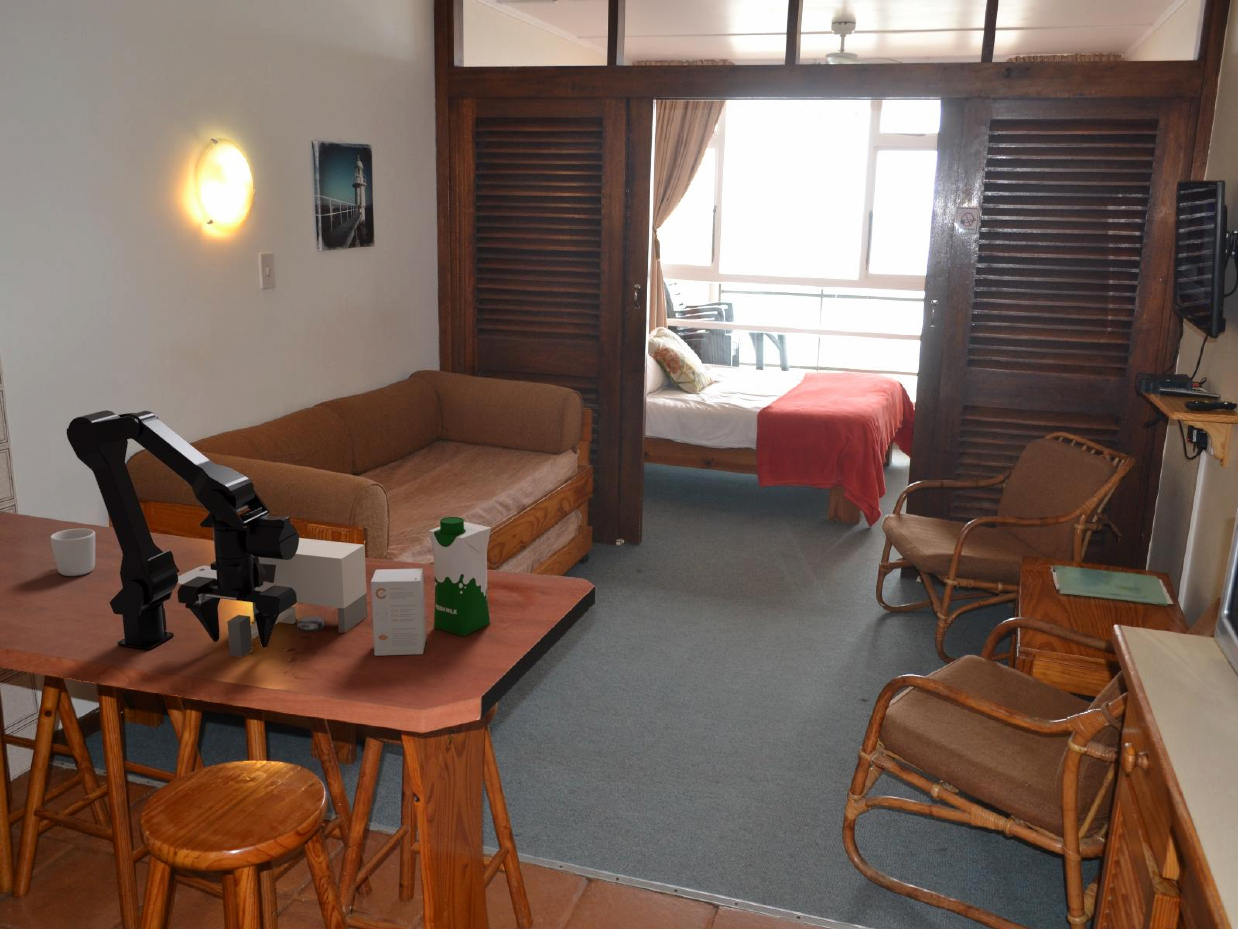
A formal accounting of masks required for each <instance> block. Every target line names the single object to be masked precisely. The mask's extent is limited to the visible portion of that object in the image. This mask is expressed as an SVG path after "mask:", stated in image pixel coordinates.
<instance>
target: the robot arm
mask: <svg viewBox="0 0 1238 929" xmlns="http://www.w3.org/2000/svg"><path fill="white" fill-rule="evenodd" d="M66 437H67V440H68V443H69V445H70V446H71V448H72V450H73V452H74V454H75V456H76V457H77V459H78V460H80V461H81V462H82V463H83V464H84V465H85V466H86V467H88V468H89V469H90V470H91V471H92V473H93V475H94V478H95V480H96V484H97V487H98V489H99V491H100V495H101V497H102V500H103V502H104V506H105V508H106V511H107V513H108V517H109V519H110V522H111V525H112V528H113V530H114V534H115V536H116V539H117V541H118V545H119V547H120V550H121V553H122V558H121V565H120V570H119V576H120V577H119V578H120V581H121V587H122V588H121V589H120V590H119V591H118V592H117V594H116V595H115V596H114V597H113V598H112V599H111V600H110V601H109V604H110V608H111V610H112V612H113V614H115V615H121V616H122V626H123V635H124V638H122V639H120V640H118V641H117V642H116V643H117V646H119V647H127V648H135V649H141V650H151V649H154V648H156V647H157V646H158V645H161V644H162V643H163V642H165V641H167V640H169V639H170V638H173V637H174V636H175V633H174V632H172V631H167V620H166V619H167V618H166V617H167V616H166V610H165V607H164V603H165V602H166V601H169V600H170V599H172V598H171V597H172V594H173V591H174V590H175V589H176V587H177V585H178V584H179V583H178V576H179V575H178V573H179V572H180V568H178V566H177V564H176V562H175V558H174V554H173V552H172V551H171V550H172V549H168V550H166V551H164V550H162V549H161V548H160V547H158V545H156V544H155V542H154V540H153V538H152V534H151V531H150V528H149V525H148V522H147V520H146V518H145V517H146V516H145V515H144V512H143V509H142V506H141V503H140V500H139V498H138V494H137V492H136V490H135V489H136V488H135V487H134V483H133V482H132V481H133V480H132V477H131V475H130V472H129V470H128V467H127V465H126V464H127V462H126V456H127V451H128V446H129V441H128V440H132V441H135V442H136V444H139V446H140V447H142V448H143V449H144V450H146V451H147V452H148V453H150V454H151V455H152V456H153V457H154V458H156V459H157V460H158V461H160V462H161V463H162V464H163V465H164V466H166V467H167V468H168V469H170V470H171V471H172V472H173V473H175V474H176V475H177V476H178V477H180V478H181V479H182V480H183V481H184V482H186V483H187V484H188V485H189V486H190V487H191V488H192V492H193V494H194V497H195V499H196V500H197V502H198V503H200V505H201V506H203V508H204V509H205V510H206V511H207V512H208V515H207V516H206V517H205V518H203V520H202V521H201V522H200V523H199V526H200V527H201V528H209V529H210V528H211V529H212V535H213V536H212V537H213V545H214V547H213V550H214V559H215V561H213V562H211V563H210V564H209V565H210V567H211V570H216V575H217V579H216V578H208V577H200V576H198V577H196V578H194V579H192V580H190V581H188V582H186V583H184V584H180V585H179V587H178V589H177V602H178V603H179V604H185V605H184V607H185V609H189V610H190V612H191V613H192V614H193V616H195V617H196V619H197V620H198V621H199V622H200V624H201V625H202V627H203V628H204V630H205V631H206V633H207V634H208V636H209V637H210V638H211V640H212V642H215V643H216V642H218V641H219V640H220V619H219V605H220V601H221V599H222V600H223V599H224V600H229V601H238V602H244V603H245V602H247V603H252V602H253V603H255V608H256V609H257V610H258V611H259V612H258V613H256V614H255V619H256V621H255V622H256V624H257V628H258V633H259V635H258V637H259V642H260V644H261V647H262V649H266V648H267V647H269V644H270V642H271V638H272V635H273V632H274V628H275V625H276V624H275V623H276V620H277V618H278V616H279V614H280V613H282V612H283V611H285V610H286V609H288V608H290V607H294V605H295V604H298V603H297V597H296V592H295V590H294V589H293V588H292V587H284V586H276V585H273V586H271V587H270V588H268V589H266V590H265V591H255V588H256V587H261V586H262V585H263V582H270V583H274V578H275V571H276V564H267V563H259V558H258V557H262V558H272V559H282V560H290V559H292V558H293V557H294V555H295V554H296V552H297V549H298V545H299V538H300V534H299V532H298V530H297V527H296V526H295V525H294V524H292V523H291V517H290V516H288V515H284V516H282V515H281V516H271V515H270V514H271V511H270V510H269V508H268V507H267V505H266V503H265V502H264V501H263V499H262V498H261V497H260V496H259V494H258V493H257V491H256V490H255V487H254V486H255V485H254V483H253V482H252V480H251V479H250V478H249V477H247V476H245V475H243V474H242V473H240V472H239V471H237V470H235V469H233V468H232V467H229V466H228V467H227V466H225V465H222V464H219V463H215V462H214V461H212V460H211V459H209V458H208V457H206V456H205V455H204V454H203V453H201V452H200V451H199V450H198V449H196V448H195V447H194V446H192V445H191V444H190V443H188V442H187V441H186V440H185V439H183V438H182V437H181V436H180V435H179V434H177V433H176V432H175V431H174V430H172V429H171V428H169V426H167V425H166V424H165V423H164V422H162V421H161V420H160V419H159V417H158V415H157V414H155V412H153V411H150V410H142V411H138V412H129V413H128V412H127V413H121V414H116V413H115V412H114V411H111V410H100V411H96V412H93V413H89V414H85V415H81V416H77V417H75V418H73V419H72V420H71V421H70V422H69V424H68V427H67V428H66ZM246 508H248V509H249V510H246V511H245V512H242V513H241V514H240V513H239V512H241V511H242V510H245V509H246ZM253 603H252V604H253Z"/></svg>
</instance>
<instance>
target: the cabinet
mask: <svg viewBox="0 0 1238 929" xmlns="http://www.w3.org/2000/svg"><path fill="white" fill-rule="evenodd" d="M365 551H366V549H365V544H360V543H359V544H358V543H350V542H349V543H348V542H340V541H332V540H331V541H330V540H324V539H322V540H321V539H312V538H302V537H299V545H298V549H297V552H296V554H295V555H294V557H293V558H292V559H290V560H282V559H272V558H262V557H258V558H259V563H267V564H276V571H275V578H274V583H270V582H263V585H262V586H261V587H256V588H255V591H265V590H266V589H268V588H270V587H271V586H273V585H276V586H284V587H292V588H293V589H294V590H295V592H296V597H297V603H296V604H304V605H305V604H307V605H310V606H311V605H313V606H321V607H327V608H330V607H331V608H336V609H337V616H338V617H337V618H338V619H337V621H338V633H344V634H346V633H347V632H349V631H350V630H351V629H352V628H354V627H355V626H356V625H359V624H360V623H361V622H362V621H363V620H365V619H366V618H368V616H369V615H368V599H367V598H368V597H367V596H368V595H367V594H368V592H367V572H366V570H367V569H366V554H365V553H366V552H365ZM251 604H252V614H253V622H256V619H255V614H256V613H258V612H259V611H258V610H257V609H256V608H255V603H253V602H251Z"/></svg>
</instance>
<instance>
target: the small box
mask: <svg viewBox="0 0 1238 929" xmlns="http://www.w3.org/2000/svg"><path fill="white" fill-rule="evenodd" d="M424 581H425V580H424V568H392V569H390V568H387V569H385V568H384V569H383V568H382V569H375V571H374V573H373V575H372V578H371V580H370V592H371V595H370V596H371V597H370V598H371V613H372V614H371V615H372V616H371V617H372V637H373V652H374V653H373V654H374V656H375V657H376V656H378V657H379V656H400V655H401V656H403V655H406V656H407V655H409V656H411V655H423V654H424V650H425V646H426V641H427V630H426V628H427V627H426V607H425V606H426V605H425V604H426V603H425V582H424Z"/></svg>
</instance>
